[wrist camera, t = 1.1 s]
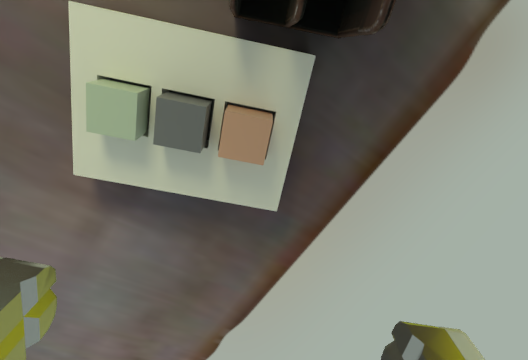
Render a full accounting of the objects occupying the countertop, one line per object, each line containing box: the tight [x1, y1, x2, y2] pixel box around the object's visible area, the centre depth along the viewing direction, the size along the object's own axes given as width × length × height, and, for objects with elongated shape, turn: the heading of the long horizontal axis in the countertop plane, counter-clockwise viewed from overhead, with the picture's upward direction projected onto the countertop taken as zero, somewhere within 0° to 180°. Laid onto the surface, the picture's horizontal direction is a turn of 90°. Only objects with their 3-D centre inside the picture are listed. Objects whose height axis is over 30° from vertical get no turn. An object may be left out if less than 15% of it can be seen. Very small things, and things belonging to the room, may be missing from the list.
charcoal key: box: [153, 92, 212, 153], centre depth 28 cm, size 4×4×3 cm
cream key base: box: [69, 1, 316, 211], centre depth 31 cm, size 15×20×4 cm
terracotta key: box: [218, 104, 273, 165], centre depth 29 cm, size 4×4×3 cm
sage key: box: [86, 79, 150, 141], centre depth 28 cm, size 4×4×3 cm
